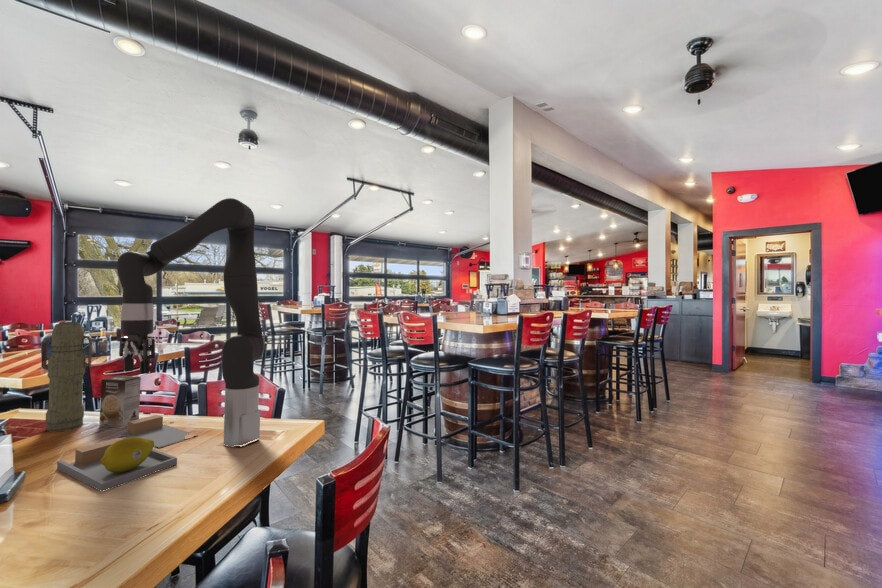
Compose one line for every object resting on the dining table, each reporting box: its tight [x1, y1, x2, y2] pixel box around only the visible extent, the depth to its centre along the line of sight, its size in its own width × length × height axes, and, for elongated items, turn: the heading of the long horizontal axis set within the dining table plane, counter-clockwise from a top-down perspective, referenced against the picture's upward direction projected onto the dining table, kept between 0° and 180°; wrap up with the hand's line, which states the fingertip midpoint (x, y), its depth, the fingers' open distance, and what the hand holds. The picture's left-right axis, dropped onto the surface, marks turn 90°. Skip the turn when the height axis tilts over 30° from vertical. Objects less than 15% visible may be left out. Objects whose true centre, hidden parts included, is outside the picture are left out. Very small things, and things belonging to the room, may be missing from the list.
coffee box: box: [99, 375, 141, 429], centre depth 124 cm, size 9×6×16 cm
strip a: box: [120, 414, 191, 449], centre depth 115 cm, size 22×11×4 cm, turn 64°
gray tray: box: [56, 437, 178, 492], centre depth 94 cm, size 24×16×4 cm, turn 64°
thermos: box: [41, 321, 93, 432], centre depth 121 cm, size 9×12×35 cm
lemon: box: [100, 437, 155, 473], centre depth 92 cm, size 11×8×8 cm
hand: (136, 372), depth 108 cm, fingers open, 8 cm apart
